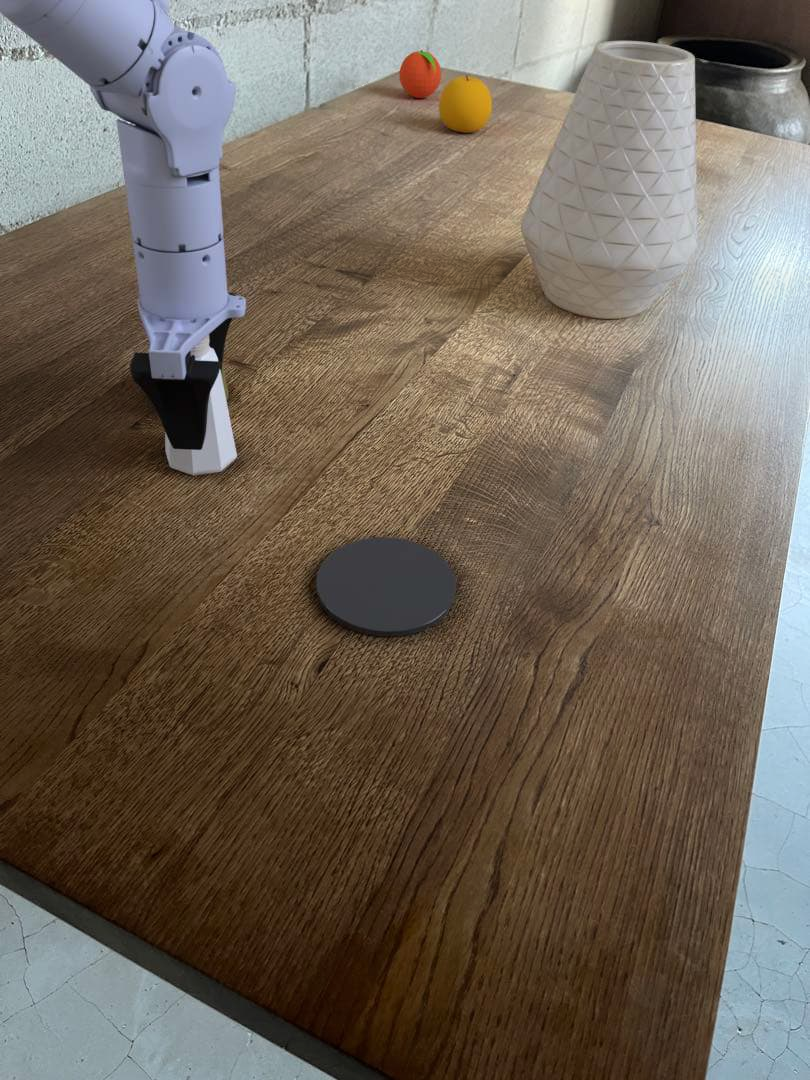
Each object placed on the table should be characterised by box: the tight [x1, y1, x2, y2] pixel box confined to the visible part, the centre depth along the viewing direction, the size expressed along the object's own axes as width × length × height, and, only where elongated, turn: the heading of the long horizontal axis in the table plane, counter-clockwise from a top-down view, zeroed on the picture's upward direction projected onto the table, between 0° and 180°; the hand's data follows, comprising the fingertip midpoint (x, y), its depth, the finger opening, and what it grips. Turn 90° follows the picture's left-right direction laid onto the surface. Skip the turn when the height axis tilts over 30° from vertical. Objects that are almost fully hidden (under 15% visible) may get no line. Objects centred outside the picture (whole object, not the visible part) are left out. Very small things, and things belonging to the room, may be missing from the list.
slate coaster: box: [315, 536, 457, 638], centre depth 59 cm, size 9×9×1 cm
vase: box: [520, 40, 699, 320], centre depth 89 cm, size 18×17×23 cm
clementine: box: [398, 49, 442, 99], centre depth 151 cm, size 8×7×7 cm
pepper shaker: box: [164, 334, 238, 477], centre depth 66 cm, size 5×5×11 cm
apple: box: [438, 75, 493, 134], centre depth 138 cm, size 8×8×8 cm
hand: (196, 417), depth 67 cm, fingers open, 7 cm apart
